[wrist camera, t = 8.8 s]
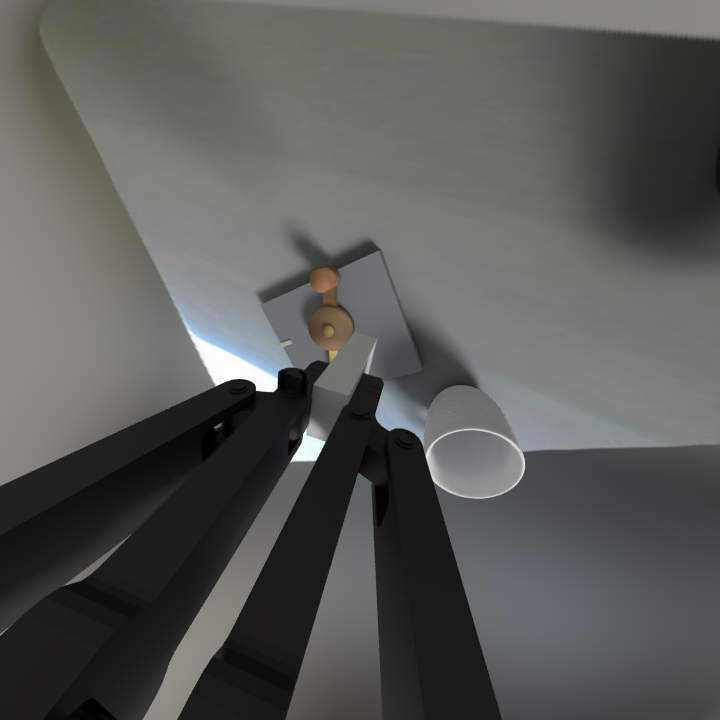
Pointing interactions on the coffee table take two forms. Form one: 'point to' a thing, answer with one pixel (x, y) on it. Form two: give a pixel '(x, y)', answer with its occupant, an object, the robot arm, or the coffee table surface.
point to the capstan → (329, 313)
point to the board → (368, 310)
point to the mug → (471, 444)
